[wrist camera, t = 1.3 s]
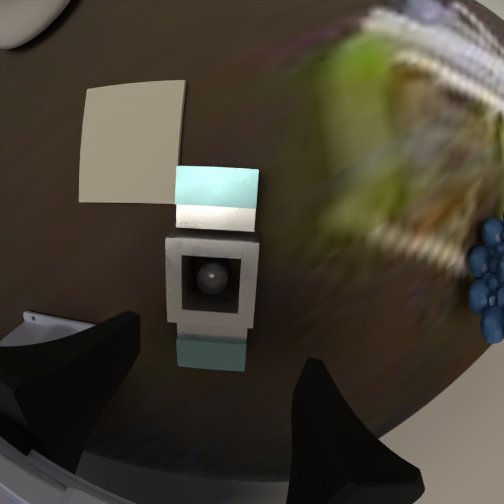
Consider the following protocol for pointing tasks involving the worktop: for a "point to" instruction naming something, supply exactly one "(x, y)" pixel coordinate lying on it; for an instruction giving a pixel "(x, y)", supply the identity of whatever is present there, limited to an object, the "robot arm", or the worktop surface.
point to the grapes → (489, 281)
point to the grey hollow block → (194, 299)
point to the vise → (214, 268)
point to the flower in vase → (26, 19)
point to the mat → (131, 142)
